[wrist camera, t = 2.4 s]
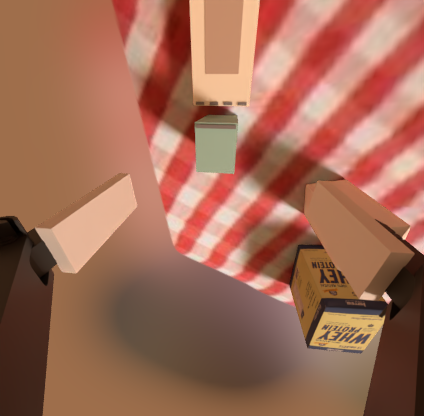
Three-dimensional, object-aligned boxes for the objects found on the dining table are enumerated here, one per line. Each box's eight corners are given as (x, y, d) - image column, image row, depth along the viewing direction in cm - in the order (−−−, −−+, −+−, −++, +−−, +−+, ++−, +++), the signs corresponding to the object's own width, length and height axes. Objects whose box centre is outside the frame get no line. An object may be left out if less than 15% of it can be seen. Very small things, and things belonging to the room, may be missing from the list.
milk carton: (345, 178, 34) (444, 249, 18) (339, 210, 38) (418, 294, 22) (305, 183, 36) (364, 253, 19) (303, 213, 39) (351, 294, 23)
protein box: (345, 244, 42) (395, 311, 29) (328, 287, 50) (361, 355, 37) (297, 243, 43) (325, 307, 30) (288, 285, 51) (307, 350, 38)
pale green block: (208, 114, 31) (194, 122, 21) (237, 115, 31) (238, 123, 20) (208, 150, 34) (196, 172, 24) (234, 151, 34) (234, 174, 24)
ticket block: (196, 2, 24) (188, -20, 20) (257, 0, 24) (262, -23, 19) (199, 104, 31) (193, 105, 26) (247, 105, 30) (249, 106, 25)
